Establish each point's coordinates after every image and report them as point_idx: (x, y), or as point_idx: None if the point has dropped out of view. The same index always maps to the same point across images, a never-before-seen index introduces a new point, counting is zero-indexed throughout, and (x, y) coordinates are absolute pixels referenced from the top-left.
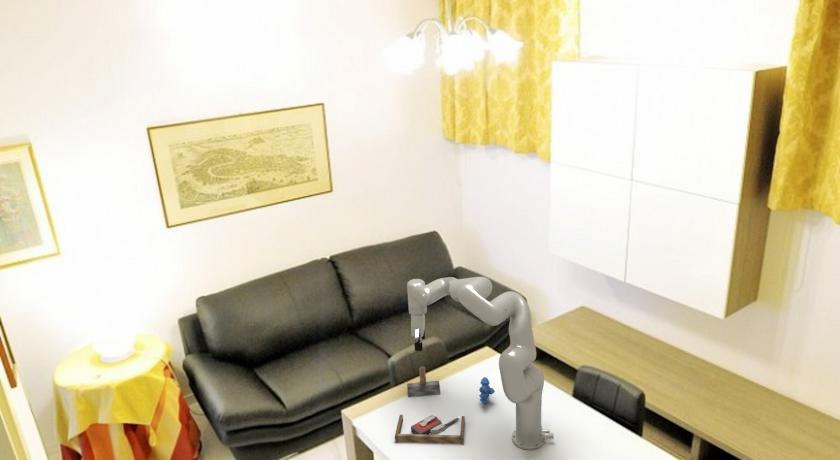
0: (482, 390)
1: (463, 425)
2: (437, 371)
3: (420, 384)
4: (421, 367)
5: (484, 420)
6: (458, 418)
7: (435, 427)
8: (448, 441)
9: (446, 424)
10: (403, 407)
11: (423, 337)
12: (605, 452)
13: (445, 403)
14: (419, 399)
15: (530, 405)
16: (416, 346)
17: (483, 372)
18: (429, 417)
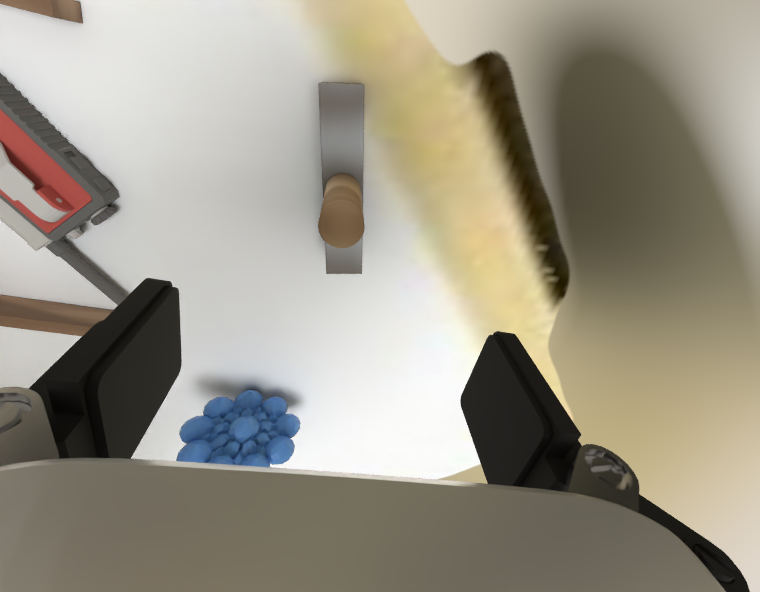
0: (178, 453)
1: (33, 328)
2: (509, 257)
3: (336, 174)
4: (349, 222)
5: None
6: None
7: (9, 207)
8: None
9: (62, 257)
10: (221, 40)
11: (470, 410)
12: None
13: (254, 265)
14: (294, 147)
15: None
16: (64, 358)
17: (442, 407)
18: (32, 190)
